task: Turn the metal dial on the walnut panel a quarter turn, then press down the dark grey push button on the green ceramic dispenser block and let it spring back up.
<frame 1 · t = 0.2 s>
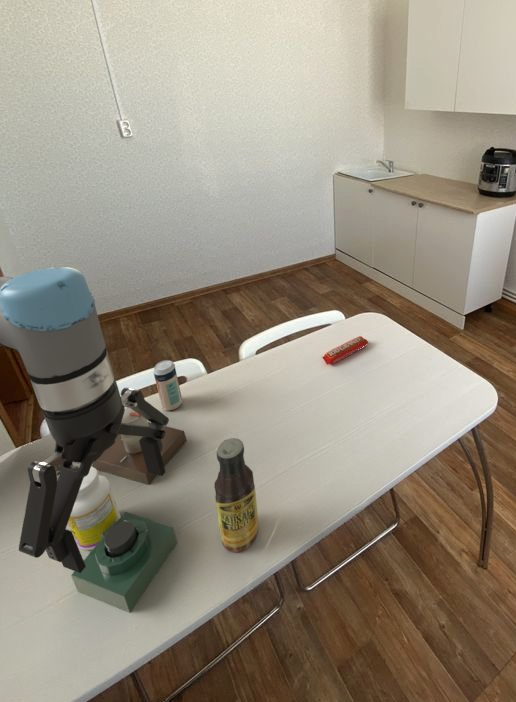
hand: (120, 514, 54), 16 cm above the table, tool pointing down, fingers open, 13 cm apart
dial: (134, 428, 80), point 7 cm above the table, hinge at 0.0°
supplement bottle: (100, 532, 67), on the table
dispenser: (130, 566, 62), on the table
dial panel: (141, 454, 82), on the table
pale pink canister: (172, 405, 96), on the table
candy bar: (346, 354, 115), on the table
sauce bottle: (242, 535, 66), on the table
dark grey push button: (120, 538, 60), point 7 cm above the table, slide at 0.1 cm
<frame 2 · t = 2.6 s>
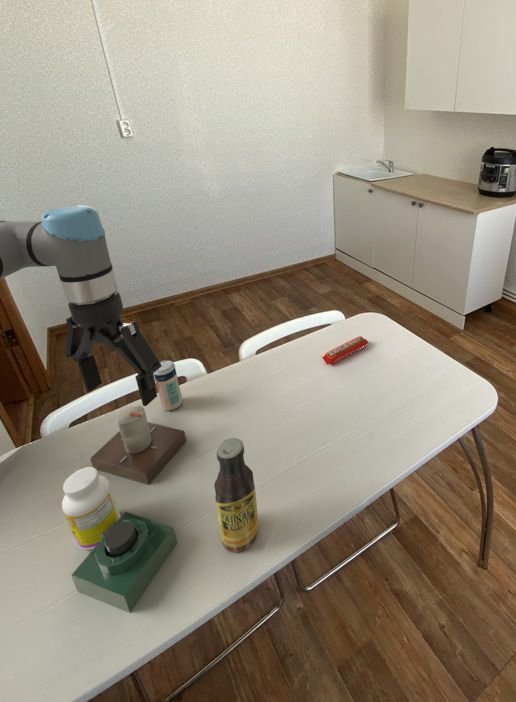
hand: (121, 394, 74), 18 cm above the table, tool pointing down, fingers open, 13 cm apart
nothing on the table moved.
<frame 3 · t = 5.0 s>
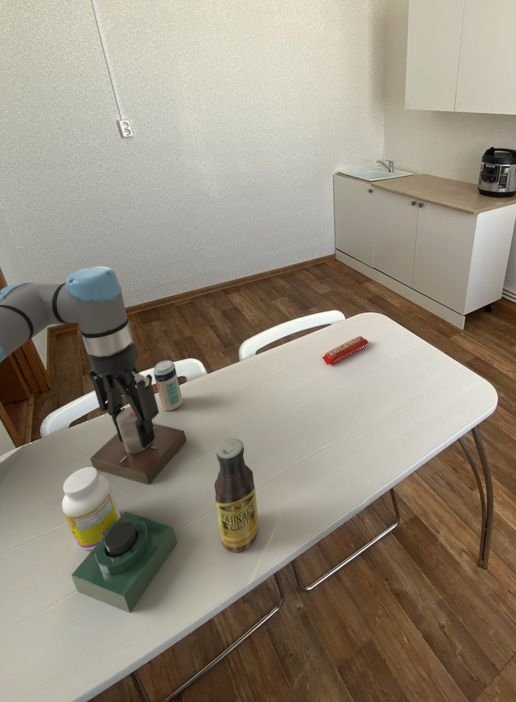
hand: (137, 439, 81), 4 cm above the table, tool pointing down, fingers closed on dial, 5 cm apart
dial: (134, 428, 80), point 7 cm above the table, hinge at 0.0°, touching gripper
everything else where it was.
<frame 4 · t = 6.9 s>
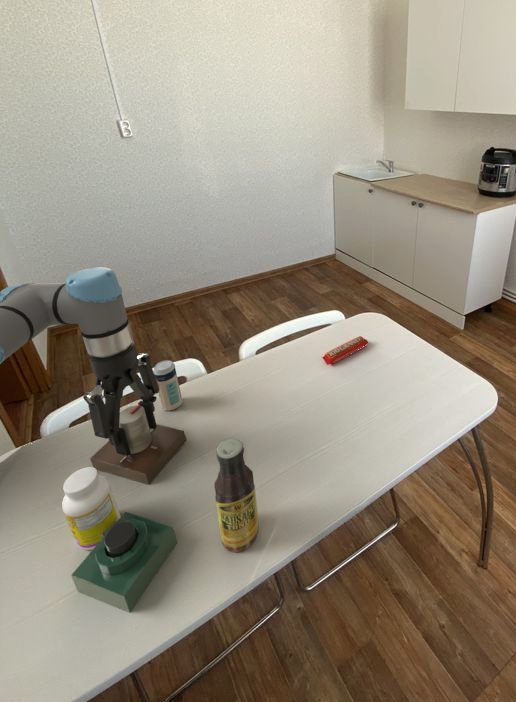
hand: (137, 439, 81), 4 cm above the table, tool pointing down, fingers open, 6 cm apart
dial: (134, 428, 80), point 7 cm above the table, hinge at 90.1°
everything else where it was.
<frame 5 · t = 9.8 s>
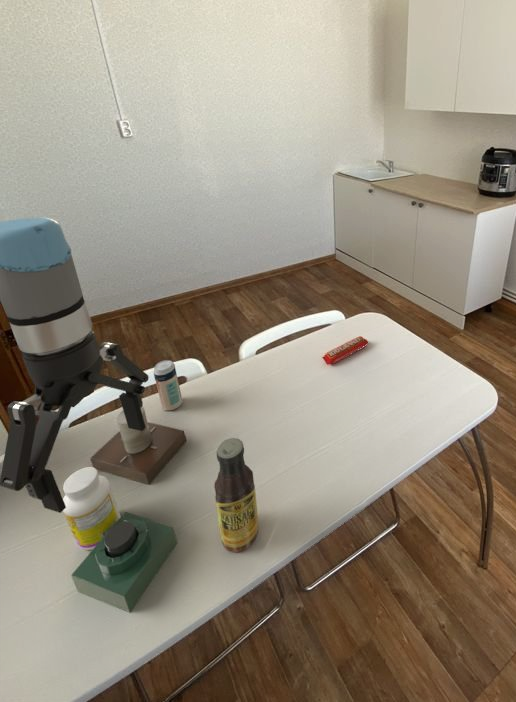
hand: (100, 463, 56), 21 cm above the table, tool pointing down, fingers open, 13 cm apart
nothing on the table moved.
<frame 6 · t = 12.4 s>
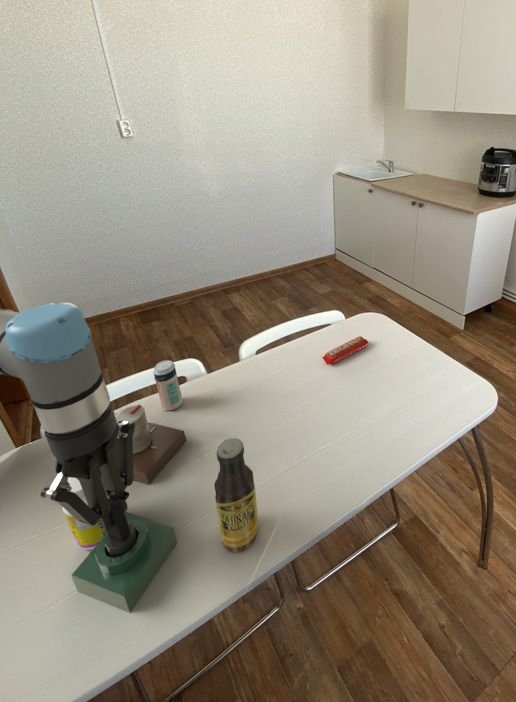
hand: (119, 533, 59), 8 cm above the table, tool pointing down, fingers closed
dark grey push button: (121, 539, 60), point 7 cm above the table, slide at 0.0 cm, touching gripper
everything else where it was.
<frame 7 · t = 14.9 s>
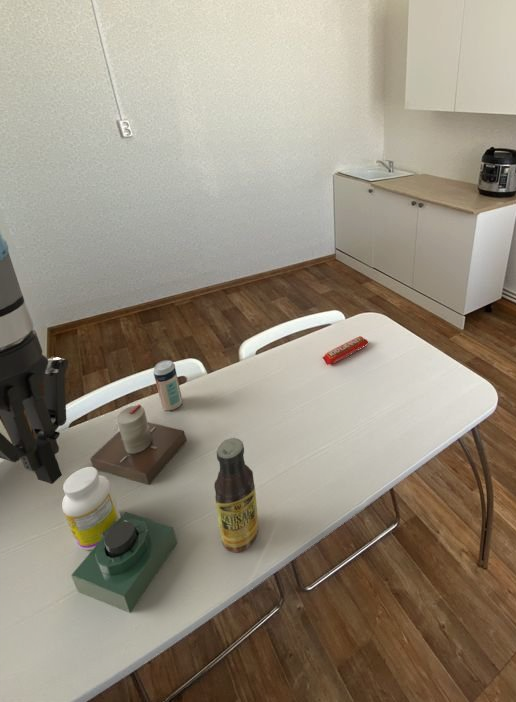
hand: (50, 477, 56), 19 cm above the table, tool pointing down, fingers closed
dark grey push button: (120, 538, 60), point 7 cm above the table, slide at 0.1 cm
everything else where it was.
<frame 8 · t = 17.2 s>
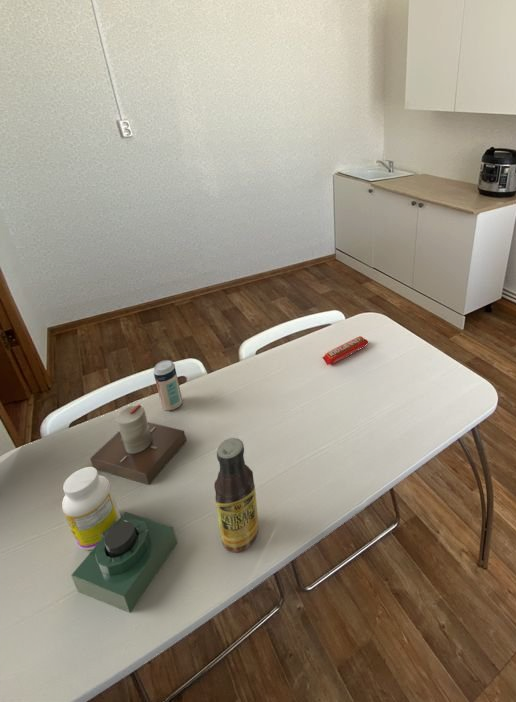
nothing on the table moved.
at the end: dial at +90° (first picture: +0°); dark grey push button pushed in 1.2 cm at the most during the clip, back to where it started at the end; dark grey push button slide at 0.1 cm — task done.
